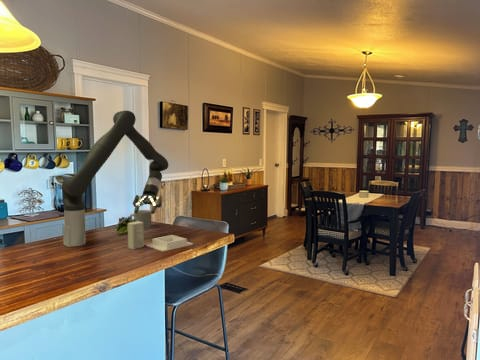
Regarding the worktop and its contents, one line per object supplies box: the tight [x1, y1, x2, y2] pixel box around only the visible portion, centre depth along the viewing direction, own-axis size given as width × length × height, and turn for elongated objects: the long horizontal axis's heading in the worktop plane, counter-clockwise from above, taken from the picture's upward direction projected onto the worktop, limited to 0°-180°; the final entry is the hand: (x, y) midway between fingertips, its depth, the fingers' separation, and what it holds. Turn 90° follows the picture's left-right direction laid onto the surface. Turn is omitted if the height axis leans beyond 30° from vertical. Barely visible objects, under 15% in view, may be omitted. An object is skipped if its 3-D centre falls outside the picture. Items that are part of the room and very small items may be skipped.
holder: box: [145, 234, 194, 252], centre depth 182 cm, size 18×14×3 cm
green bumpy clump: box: [114, 216, 136, 236], centre depth 205 cm, size 11×11×12 cm
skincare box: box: [127, 221, 145, 250], centre depth 177 cm, size 6×4×12 cm
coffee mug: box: [128, 209, 152, 231], centre depth 221 cm, size 13×10×10 cm
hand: (144, 212), depth 187 cm, fingers open, 8 cm apart
